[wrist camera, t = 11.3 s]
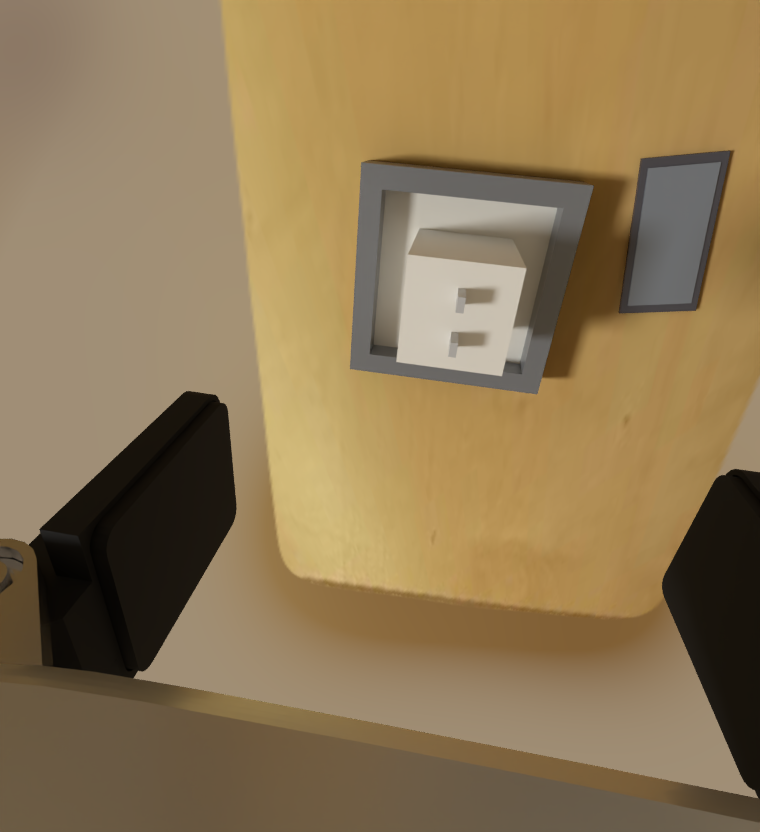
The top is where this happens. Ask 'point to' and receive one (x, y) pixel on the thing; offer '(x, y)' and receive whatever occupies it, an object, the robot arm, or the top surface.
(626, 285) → the phone
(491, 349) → the charger
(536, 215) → the dock
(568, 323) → the top surface
